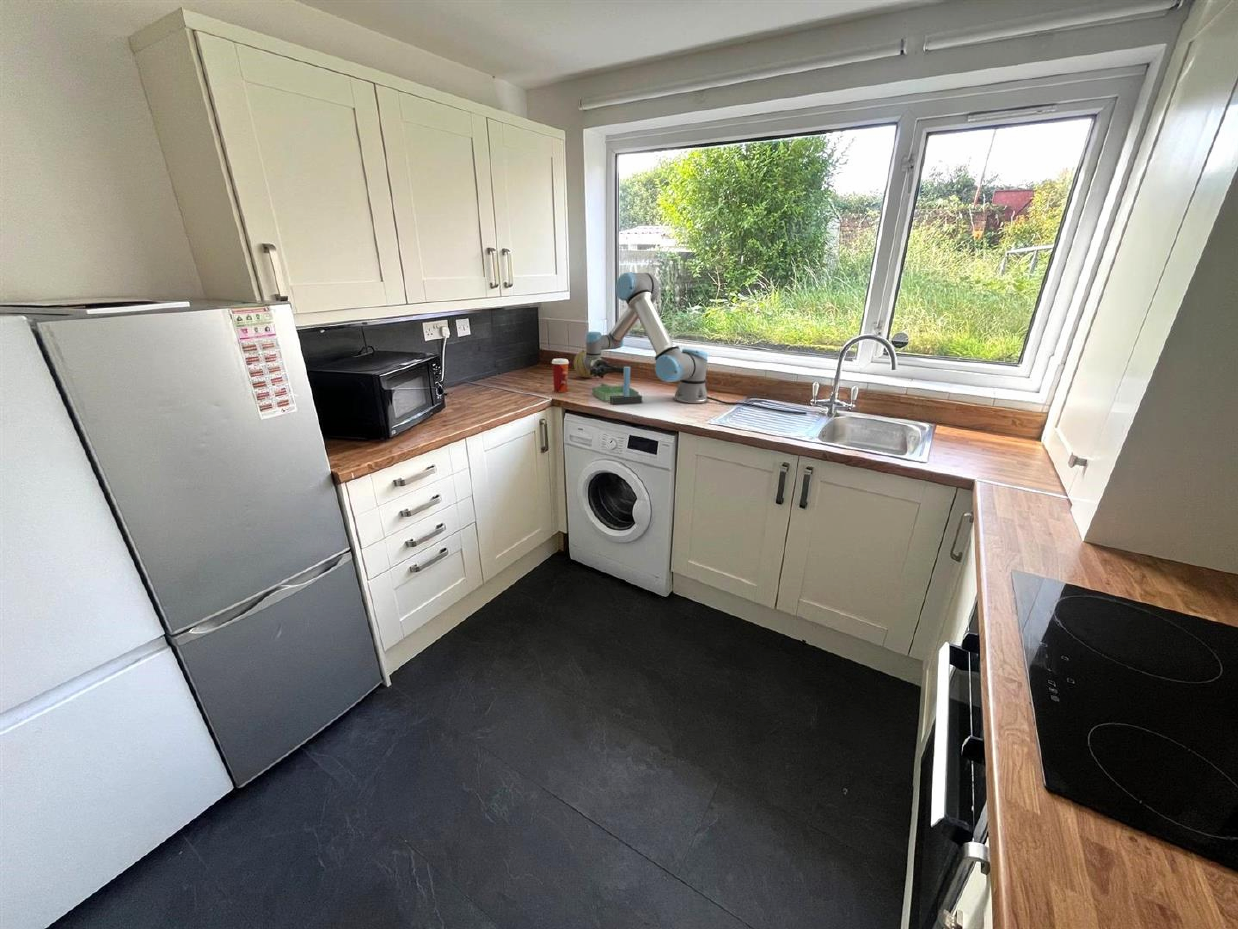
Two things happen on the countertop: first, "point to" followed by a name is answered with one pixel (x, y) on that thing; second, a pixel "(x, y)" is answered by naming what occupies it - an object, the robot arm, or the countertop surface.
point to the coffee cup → (560, 374)
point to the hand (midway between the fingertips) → (616, 374)
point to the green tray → (605, 391)
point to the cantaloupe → (581, 365)
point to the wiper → (626, 391)
